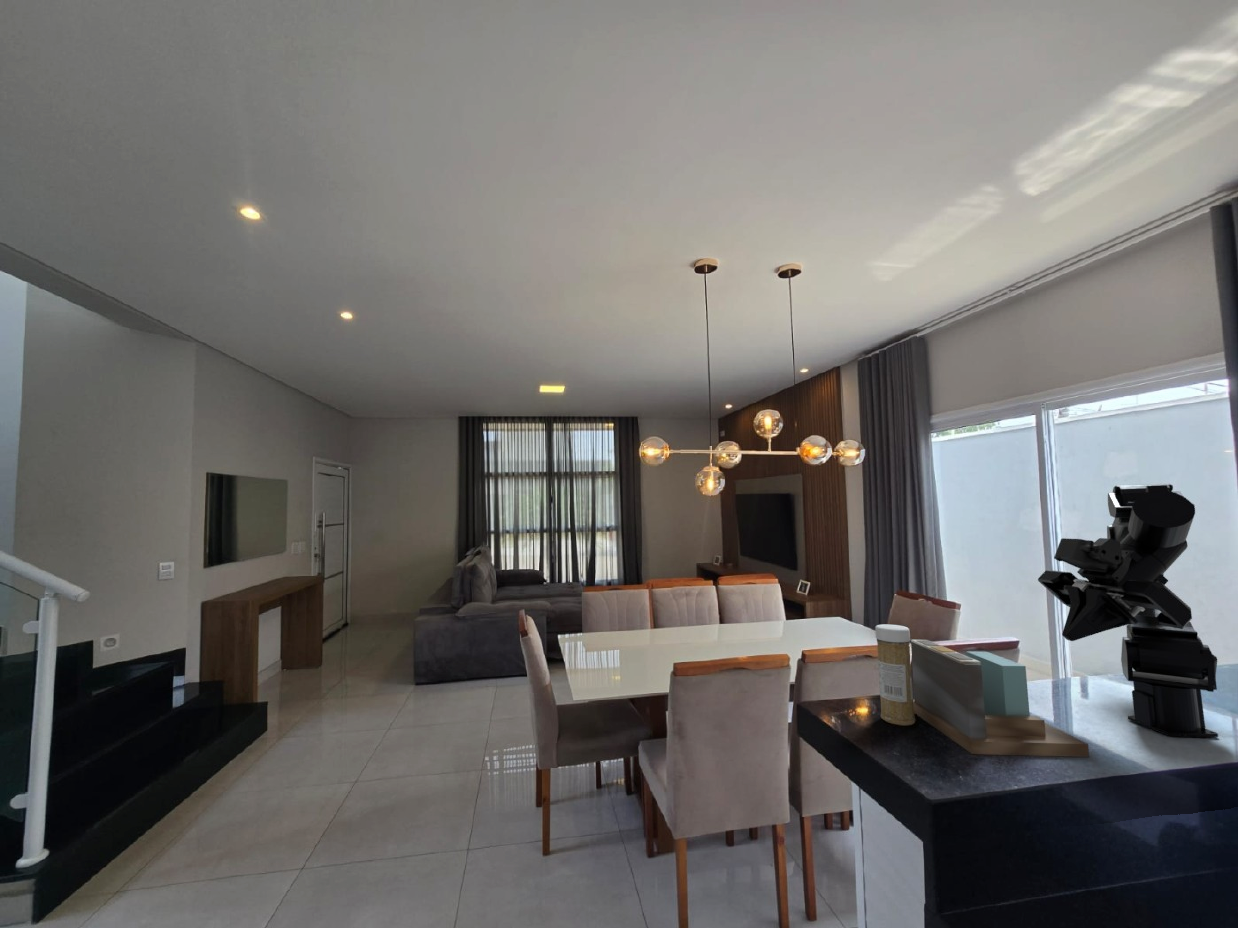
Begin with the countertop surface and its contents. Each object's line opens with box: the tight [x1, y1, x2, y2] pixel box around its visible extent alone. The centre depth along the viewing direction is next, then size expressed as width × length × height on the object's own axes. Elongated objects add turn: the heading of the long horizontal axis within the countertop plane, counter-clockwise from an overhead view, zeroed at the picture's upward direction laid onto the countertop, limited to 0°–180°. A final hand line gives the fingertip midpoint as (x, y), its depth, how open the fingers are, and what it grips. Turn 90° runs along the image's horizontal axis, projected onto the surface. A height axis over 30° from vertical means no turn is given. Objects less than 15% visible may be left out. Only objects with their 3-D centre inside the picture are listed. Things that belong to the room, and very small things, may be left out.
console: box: [910, 639, 1090, 758], centre depth 74 cm, size 14×16×11 cm
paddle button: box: [965, 650, 1031, 716], centre depth 73 cm, size 3×8×8 cm, turn 177°
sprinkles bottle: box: [874, 623, 916, 727], centre depth 77 cm, size 5×5×13 cm
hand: (1066, 638), depth 74 cm, fingers closed
